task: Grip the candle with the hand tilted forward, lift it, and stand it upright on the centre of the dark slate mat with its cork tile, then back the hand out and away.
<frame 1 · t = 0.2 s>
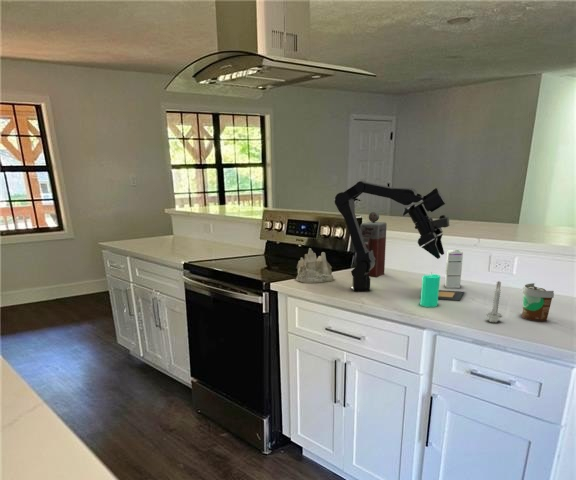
hand: (441, 256, 190), 15 cm above the counter, tool tilted 35°, fingers open, 9 cm apart
screw: (493, 322, 162), on the counter
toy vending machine: (370, 275, 236), on the counter
candle: (428, 305, 183), on the counter
food container: (529, 318, 164), on the counter
mat: (442, 295, 195), on the counter
sand castle: (314, 279, 230), on the counter
grey tower: (451, 287, 209), on the counter
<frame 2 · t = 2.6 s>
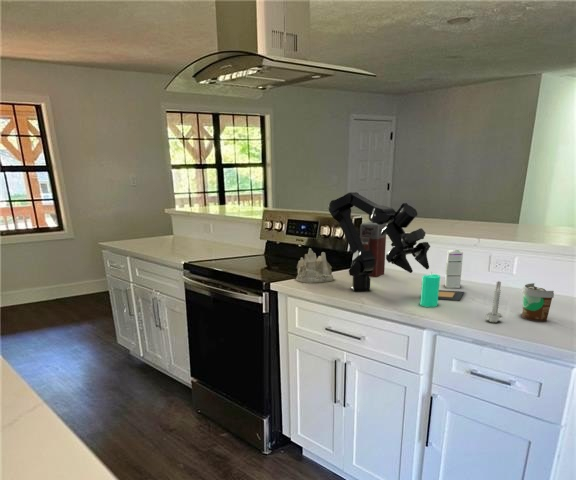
hand: (420, 270, 182), 12 cm above the counter, tool tilted 45°, fingers open, 9 cm apart
nothing on the counter moved.
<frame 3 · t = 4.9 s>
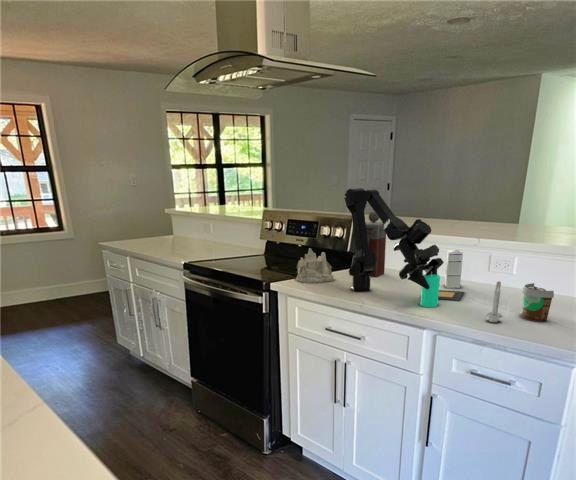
hand: (433, 287, 179), 7 cm above the counter, tool tilted 45°, fingers closed on candle, 5 cm apart
candle: (428, 305, 183), on the counter, touching gripper
everything else where it was.
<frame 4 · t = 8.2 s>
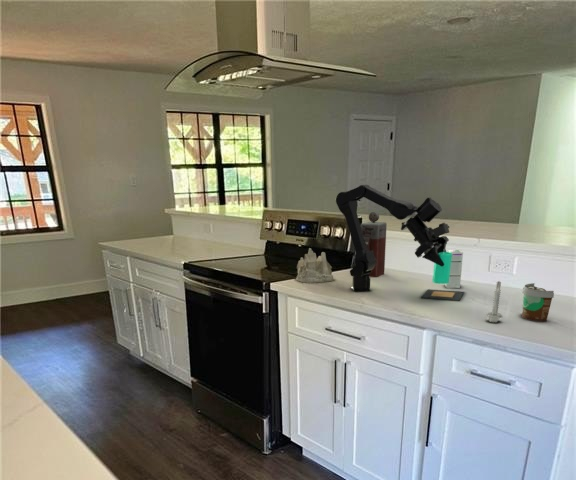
hand: (446, 264, 183), 13 cm above the counter, tool tilted 45°, fingers closed on candle, 5 cm apart
candle: (440, 282, 187), point 6 cm above the counter, touching gripper
everything else where it was.
when the fingers open (7 cm above the counter, at t = 11.7 s): candle stays where it is, resting on mat.
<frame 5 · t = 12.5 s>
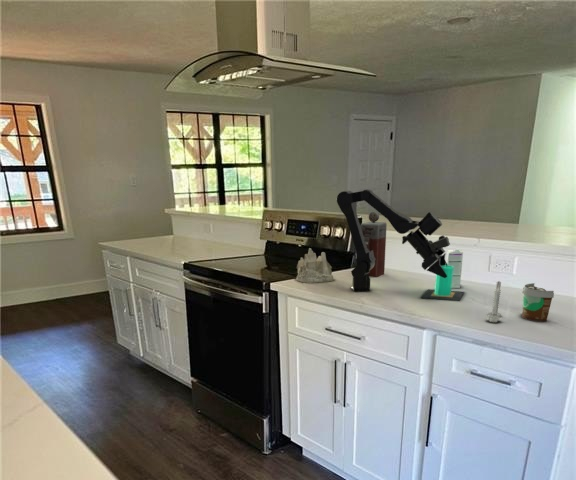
hand: (448, 275, 192), 8 cm above the counter, tool tilted 45°, fingers open, 9 cm apart
candle: (442, 294, 195), resting on mat
everything else where it was.
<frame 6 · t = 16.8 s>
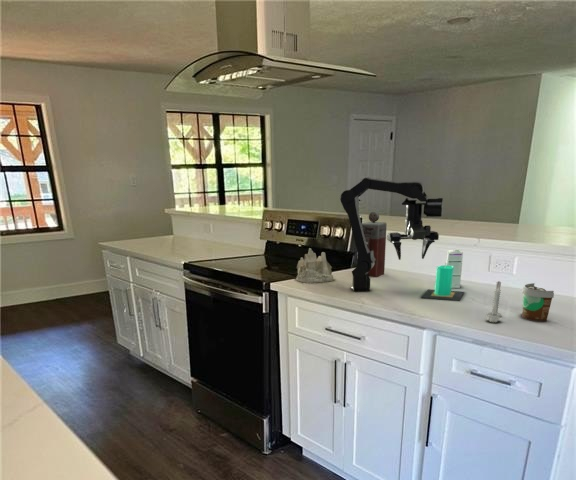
hand: (411, 259, 197), 13 cm above the counter, tool pointing down, fingers open, 9 cm apart
nothing on the counter moved.
at the end: candle 0.2 cm off-centre on the mat, point 0.3 cm above the mat's base; candle tilted 0°; the gripper is holding nothing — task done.
